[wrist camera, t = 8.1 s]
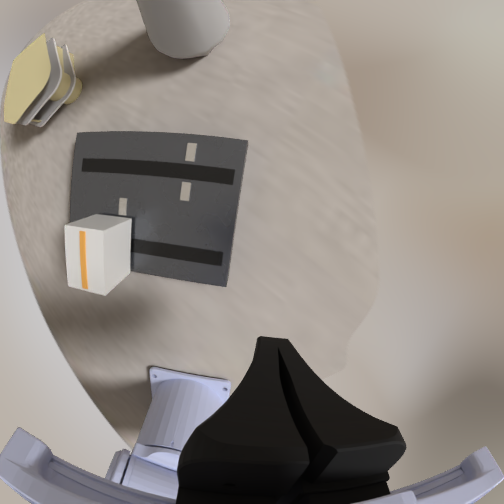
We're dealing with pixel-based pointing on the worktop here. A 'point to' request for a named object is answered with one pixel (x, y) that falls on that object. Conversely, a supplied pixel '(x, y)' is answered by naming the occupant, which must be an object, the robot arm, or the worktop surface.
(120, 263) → the white striped block
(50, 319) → the worktop surface
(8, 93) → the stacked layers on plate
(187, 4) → the salt shaker
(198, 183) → the console
